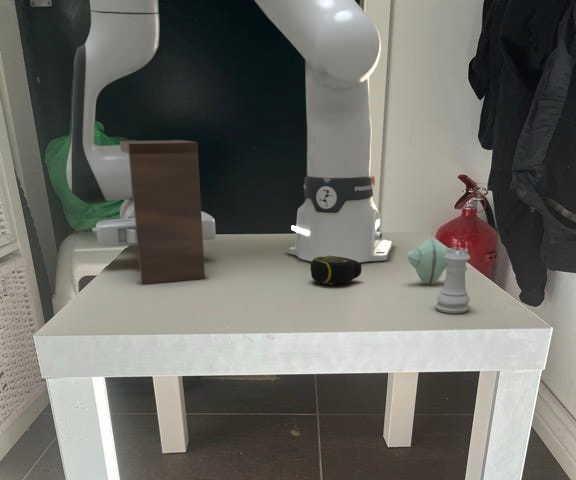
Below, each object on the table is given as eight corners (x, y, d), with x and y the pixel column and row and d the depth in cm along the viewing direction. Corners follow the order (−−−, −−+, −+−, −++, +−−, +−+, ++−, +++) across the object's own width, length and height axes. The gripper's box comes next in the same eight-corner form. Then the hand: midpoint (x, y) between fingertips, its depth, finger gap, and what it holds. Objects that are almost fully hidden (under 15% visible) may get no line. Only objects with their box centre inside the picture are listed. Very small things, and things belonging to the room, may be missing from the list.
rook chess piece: (433, 304, 88) (438, 245, 85) (466, 305, 87) (472, 246, 84) (437, 314, 84) (442, 252, 81) (472, 314, 83) (478, 253, 80)
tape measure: (363, 282, 100) (364, 258, 99) (334, 290, 96) (335, 265, 94) (330, 275, 104) (330, 252, 103) (301, 282, 100) (301, 258, 98)
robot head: (406, 287, 97) (408, 242, 94) (399, 281, 100) (402, 237, 98) (458, 286, 97) (462, 241, 95) (449, 280, 101) (453, 236, 98)
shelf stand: (132, 269, 109) (119, 141, 101) (190, 265, 113) (182, 140, 105) (142, 284, 100) (128, 143, 92) (205, 278, 103) (197, 142, 95)
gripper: (89, 210, 112) (95, 221, 100) (203, 204, 119) (222, 214, 107) (93, 246, 115) (100, 261, 103) (205, 239, 121) (224, 252, 109)
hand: (163, 237), depth 105 cm, fingers open, 6 cm apart
